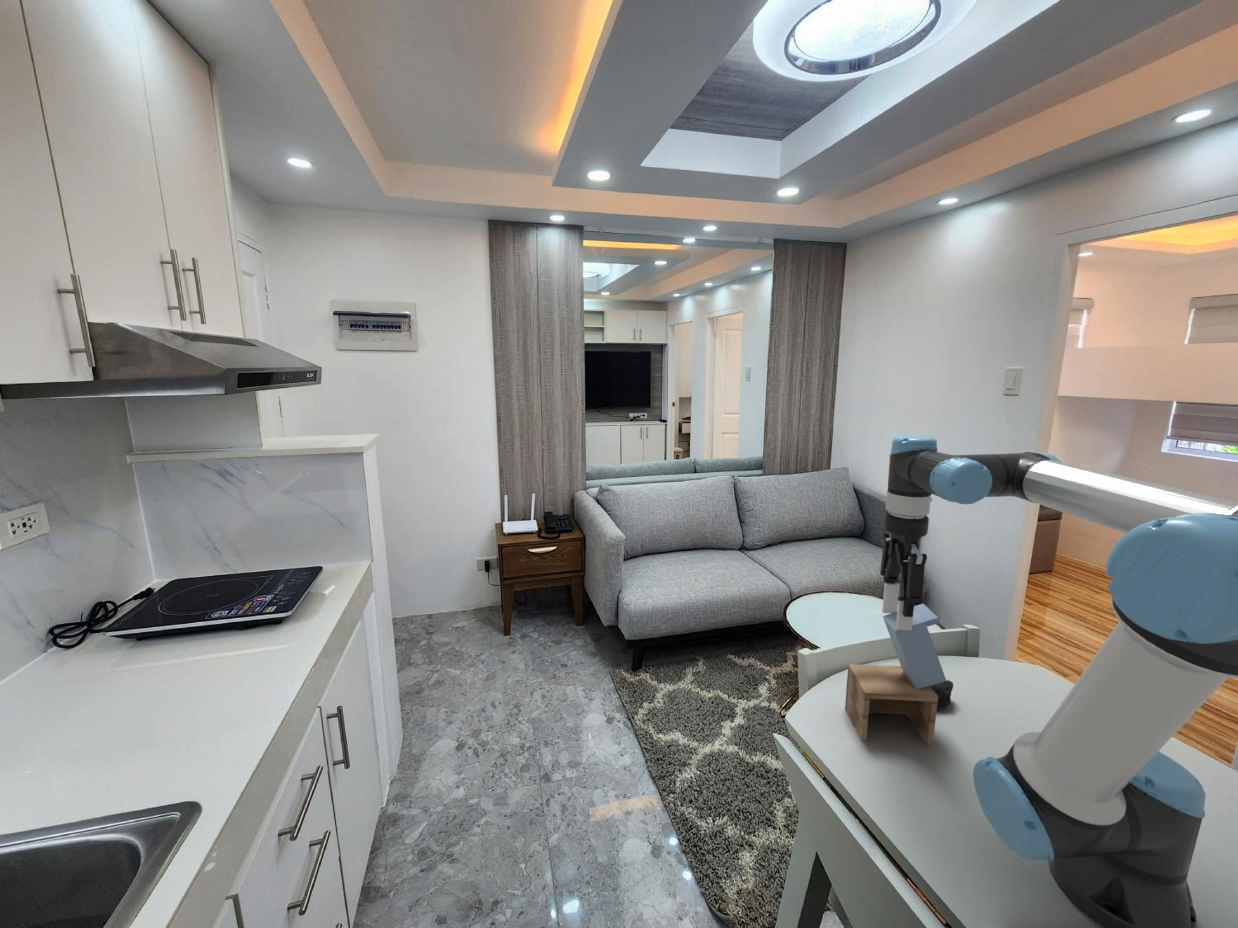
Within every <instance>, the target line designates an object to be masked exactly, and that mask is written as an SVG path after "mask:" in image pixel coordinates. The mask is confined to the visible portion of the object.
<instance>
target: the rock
mask: <svg viewBox="0 0 1238 928" xmlns="http://www.w3.org/2000/svg"><path fill="white" fill-rule="evenodd" d="M930 687H931V688H932V689H933V691H934V692H935V693H936V694H937V696H938V703H937V712H938V710H939V711H941V710H943V709H946V708H947V707H949V706H950V705H952V704H951V703H952V698H951V696H952V691H953V688H954V682H952V681H951V680H949V679H948V680H947V679H946V681H945V682H941V683H938V684H934V685H931V686H930Z"/></svg>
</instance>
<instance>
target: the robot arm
mask: <svg viewBox="0 0 1238 928" xmlns="http://www.w3.org/2000/svg"><path fill="white" fill-rule="evenodd" d="M937 441H938V440H936V438H935V437H932V436H928V435H920V434H919V435H918V434H902V435H897V436H895V437H894V438H893V439H892V442H891V449H890V454H889V464H888V465H889V466H888V479H887V490H886V497H885V510H886V512H885V513H884V523H883V525H884V526H883V529H884V530H885V531H884V532H883V545H882V546H883V547H882V555H881V563H880V570H879V571H880V572H879V574H880V576H883V578H882V579H883V582H884V588H883V599H882V609H881V610H882V611H881V612H882V613H883V614H891V613H894V612H897V621H896V629H897V630H912V623H913V614H914V606H915V603H918V604H919V603H920V604H922V603H923V595H924V581H925V569H926V563H927V560H928V556H927V554H926V553H921V552H920V544H919V543H920V542H919V539H921V538H923V537H925V536H926V535H928V533H929V532H928V529H929V520H930V518H929V516H928V515H929V514H930V508H931V502H932V501H933V498H932V495H933V496H937V497H939V498H941V499H942V500H945V501H947V502H951V503H955V504H959V505H973V504H975V503H977V502H979V501H980V500H981V501H982V500H984V499H985V498H994V497H995V498H999V497H1000V498H1001V497H1015V498H1018V499H1021V500H1025V501H1028V502H1030V503H1033V504H1036V505H1037V504H1038V505H1040V506H1043V507H1047V508H1049V509H1052V510H1055V511H1059V512H1060V513H1065V514H1067V515H1069V516H1073V517H1076V518H1079V519H1082V520H1085V521H1087V522H1091V523H1094V524H1096V525H1100V526H1102V527H1106V528H1109V529H1112V530H1114V531H1117V532H1121V533H1123V534H1124V535H1122V536H1121V537H1120V538H1119V539H1118V541H1116V543H1115V544H1114V545H1113V547H1112V549H1111V551H1110V552H1109V555H1108V557H1107V560H1106V565H1105V575H1106V576H1107V577H1110V580H1111V583H1108V584H1107V588H1108V592H1109V594H1110V597H1111V598H1112V599H1111V603H1110V604H1111V605H1110V606H1111V609H1112V611H1113V613H1114V615H1115V617H1116V618H1117V619H1118V621H1119V622H1117V624H1116V626H1115V627H1114V628H1113V630H1112V631H1111V633H1110V634H1109V635H1108V636H1107V638H1106V640H1105V641H1104V643H1103V644H1102V645H1101V647H1100V648H1099V650H1098V651H1097V652H1096V654H1095V655H1094V657H1093V658H1092V659H1091V661H1090V662H1089V664H1088V665H1087V666H1086V668H1085V669H1084V671H1083V672H1082V673H1081V674H1080V677H1079V678H1077V680H1076V681H1075V683H1074V685H1073V686H1072V688H1071V689H1070V691H1068V693H1067V695H1066V696H1065V698H1064V699H1063V700H1062V702H1061V703H1060V705H1059V706H1058V707H1057V708H1056V710H1055V711H1054V713H1053V714H1052V715H1051V717H1050V719H1049V720H1048V722H1047V723H1046V724H1045V726H1044V727H1043V729H1042V731H1041V732H1039V731H1032V732H1027V733H1024V734H1021V735H1020V736H1019V737H1018V738H1017V739H1016V740H1015V742H1014V743H1013V744H1012V746H1011V747H1010V749H1009V751H1008V752H1007V753H1006V754H1005V755H1004V756H1002V757H997V758H995V757H993V756H989V757H986V758H982V759H980V760H978V761H977V762H976V763H975V765H974V767H973V773H972V775H973V776H972V777H973V779H972V780H973V785H974V790H975V793H976V796H977V800H978V802H979V805H980V807H981V809H982V812H983V814H984V816H985V817H986V819H987V820H988V823H989V824H990V826H991V827H992V829H993V830H994V832H995V833H996V834H997V836H998V837H999V838H1000V839H1001V841H1002V842H1003V843H1004V844H1005V845H1006V846H1007V847H1008V848H1009V849H1011V850H1012V851H1014V852H1015V853H1016V854H1017V855H1019V856H1021V858H1024V859H1027V860H1031V861H1032V860H1034V861H1046V862H1048V864H1049V866H1048V867H1049V869H1050V872H1051V874H1052V876H1053V878H1054V880H1055V882H1056V883H1057V884H1058V886H1059V887H1060V889H1061V890H1062V891H1063V892H1064V894H1065V895H1066V896H1067V897H1068V898H1069V899H1070V900H1071V901H1072V903H1074V904H1075V906H1077V907H1078V909H1080V910H1081V911H1082V912H1084V913H1085V914H1086V915H1087V916H1088V917H1090V918H1091V919H1092V920H1094V921H1095V922H1097V923H1098V924H1100V925H1101V926H1102V927H1104V928H1198V917H1197V915H1196V910H1195V908H1194V903H1193V899H1192V895H1191V891H1190V890H1191V889H1190V886H1189V882H1188V875H1189V873H1190V872H1189V871H1190V868H1191V863H1192V859H1193V856H1194V851H1195V848H1196V844H1197V840H1198V837H1199V833H1200V829H1201V826H1202V821H1203V819H1204V818H1205V816H1206V812H1205V804H1206V792H1205V790H1204V787H1203V785H1202V784H1201V783H1200V781H1199V780H1198V779H1197V778H1196V777H1195V776H1194V775H1193V773H1192V772H1190V771H1189V770H1188V769H1187V768H1185V767H1184V766H1183V765H1182V764H1180V763H1179V762H1178V761H1176V760H1174V759H1173V758H1171V757H1170V756H1168V755H1166V754H1165V753H1163V752H1161V749H1162V748H1163V747H1164V746H1165V745H1166V744H1167V743H1168V742H1169V741H1170V740H1171V739H1172V737H1174V736H1175V734H1176V733H1177V732H1178V731H1179V730H1180V729H1181V728H1182V727H1183V726H1184V725H1185V724H1186V722H1188V720H1189V719H1190V718H1191V717H1192V716H1193V715H1194V714H1195V713H1196V712H1197V711H1198V710H1199V708H1201V707H1202V706H1203V705H1204V704H1205V703H1206V701H1207V700H1208V699H1209V698H1210V697H1211V696H1212V695H1213V694H1214V693H1215V692H1216V691H1217V690H1218V689H1219V687H1220V686H1221V685H1222V684H1223V683H1225V681H1226V680H1227V679H1228V678H1232V679H1238V501H1235V500H1230V499H1226V498H1220V497H1218V496H1217V497H1216V496H1214V495H1208V494H1204V493H1199V492H1195V491H1190V490H1186V489H1181V488H1177V487H1172V486H1168V485H1163V484H1161V483H1160V484H1159V483H1154V482H1151V481H1145V480H1141V479H1138V478H1133V477H1128V476H1124V475H1119V474H1116V473H1112V472H1106V471H1101V470H1096V469H1093V468H1092V469H1091V468H1088V467H1083V466H1079V465H1075V464H1070V463H1068V462H1067V463H1065V462H1062V461H1061V460H1060V459H1058V458H1057V457H1056V456H1055V455H1054V454H1051V453H1047V452H1033V451H1025V452H1018V453H1016V452H1015V453H1014V452H1011V453H1010V452H1009V453H987V454H986V453H984V454H948V453H943V452H939V451H938V442H937ZM900 591H901V597H900Z"/></svg>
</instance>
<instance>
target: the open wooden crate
mask: <svg viewBox="0 0 1238 928" xmlns="http://www.w3.org/2000/svg"><path fill="white" fill-rule="evenodd" d="M847 665H848V666H847V677H846V688H845V689H846V690H845V693H846V694H845V706H844V709H845V711H846V712H847V715H848V718H849V719H850V721H851V723H852V725H853V727H854V729H855V731H856V733H857V735H858V737H859V739H860V741H863V742H867V735H868V724H869V715H870V714H869V713H873V714H887V715H888V714H891V715H907V716H908V718H909V720H910V721H911V723H912V724H913V726H914V727H915V728H916V730H917V732H918V733H919V735H920V736H921V738H922V739H923V740H924V742H925V744H926V745H927V746H933V744H934V738H935V737H934V736H935V730H936V729H935V728H936V727H935V726H936V718H937V712H938V711H937V703H938V696H937V694H936V693H935V692H934V691H933V689H932V688H931V687H930V686H927V687H924V688H920V689H917V690H916V688H915V687H914V686H913V684H912V683H911V681H910V680H909V679H908V677H907V676H906V675H905V673H904V672H903V670H902V667H901V665H899V666H898V665H897V666H896V665H875V664H854V663H848V664H847Z"/></svg>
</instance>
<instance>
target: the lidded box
mask: <svg viewBox="0 0 1238 928" xmlns="http://www.w3.org/2000/svg"><path fill="white" fill-rule="evenodd" d="M882 619H883V621H884V623H885V626H886V629H887V633H888V634H889V637H890V640H891V642H892V645H893V647H894V651H895V653H896V656H897V658H898V661H899V664H900V666H901V667H902V670H903V672H904V673H905V675H906V676H907V677H908V679H909V680H910V681H911V683H912V684H913V686H914V687H915V688H916V690H917V689H920V688H924V687H927V686H931V685H934V684H938V683H941V682H945V681H946V680H947V678H946V675H945V673H944V670H943V667H942V665H941V662H940V659H939V656H938V654H937V651H936V648H935V646H934V643H933V639H932V637H931V634H930V631H929V628H928V627H931V626H935V625H938V624H940V619H939V617H938V616H937V615H936V614H935V613H934V612H933V611H932V610H930V608H929V607H928V606H927V605H925V604H924V603H920V604H918V605H914V614H913V623H912V630H897V629H896V621H897V612H894V613H887V614H885V615H882Z"/></svg>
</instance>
